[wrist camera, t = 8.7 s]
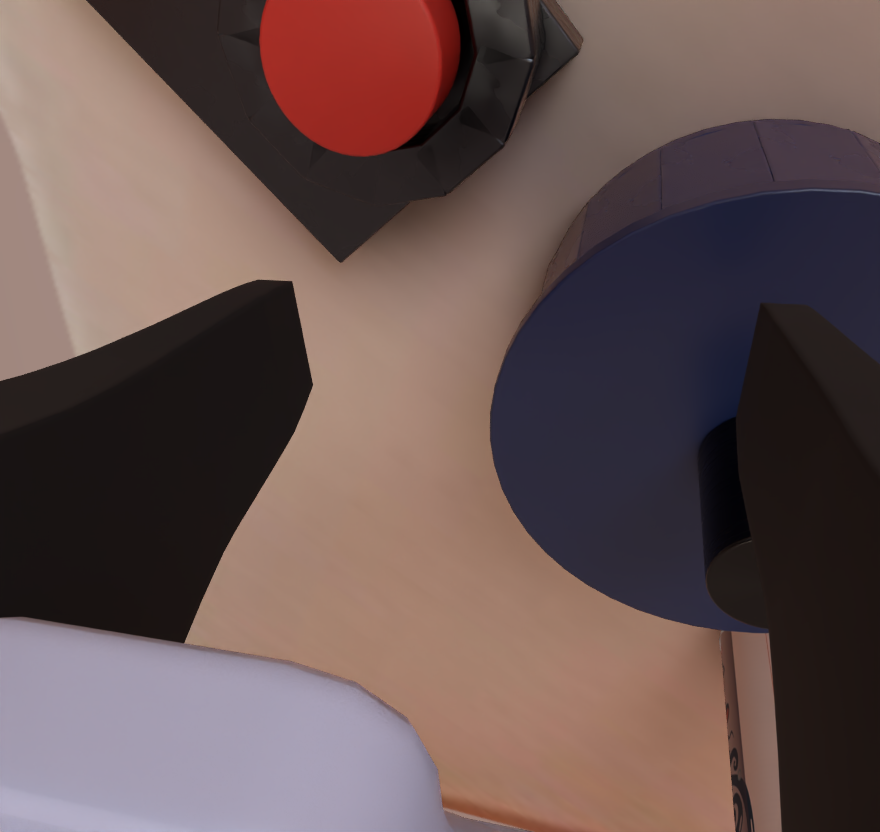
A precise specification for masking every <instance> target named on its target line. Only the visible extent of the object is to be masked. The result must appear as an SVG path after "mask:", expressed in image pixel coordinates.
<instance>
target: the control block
mask: <svg viewBox="0 0 880 832" xmlns="http://www.w3.org/2000/svg"><path fill="white" fill-rule="evenodd" d="M86 1H87V2H88V3H89V4H90V5H91V6H92V7H93V8H94V9H95V10H96V11H97V12H98V13H99V14H100V15H101V16H102V17H103V18H104V19H105V20H106V21H107V22H108V23H109V24H110V25H111V26H112V27H113V28H114V30H115V31H116V32H117V33H118V34H119V35H120V36H121V37H122V38H123V39H124V40H125V41H126V42H127V43H128V44H129V45H130V46H131V47H132V48H133V49H134V50H135V51H136V52H137V53H138V54H139V55H140V56H141V57H142V58H143V60H144V61H145V62H146V63H147V64H148V65H149V66H150V67H151V68H152V69H153V70H154V71H155V72H156V73H157V74H158V75H159V76H160V77H161V78H162V79H163V80H164V81H165V82H166V83H167V84H168V85H169V86H170V87H171V89H172V90H173V91H174V92H175V93H176V94H177V95H178V96H179V97H180V98H181V99H182V100H183V101H184V102H185V103H186V104H187V105H188V106H189V107H190V108H191V109H192V110H193V111H194V112H195V113H196V114H197V115H198V116H199V118H200V119H201V120H202V121H203V122H204V123H205V124H206V125H207V126H208V127H209V128H210V129H211V130H212V131H213V132H214V133H215V134H216V135H217V136H218V137H219V138H220V139H221V140H222V141H223V142H224V143H225V144H226V145H227V147H228V148H229V149H230V150H231V151H232V152H233V153H234V154H235V155H236V156H237V157H238V158H239V159H240V160H241V161H242V162H243V163H244V164H245V165H246V166H247V167H248V168H249V169H250V170H251V171H252V172H253V173H254V174H255V175H256V177H257V178H258V179H259V180H260V181H261V182H262V183H263V184H264V185H265V186H266V187H267V188H268V189H269V190H270V191H271V192H272V193H273V194H274V195H275V196H276V197H277V198H278V199H279V200H280V201H281V202H282V203H283V204H284V206H285V207H286V208H287V209H288V210H289V211H290V212H291V213H292V214H293V215H294V216H295V217H296V218H297V219H298V220H299V221H300V222H301V223H302V224H303V225H304V226H305V227H306V228H307V229H308V230H309V231H310V232H311V233H312V235H313V236H314V237H315V238H316V239H317V240H318V241H319V242H320V243H321V244H322V245H323V246H324V247H325V248H326V249H327V250H328V251H329V252H330V253H331V254H332V255H333V256H334V257H335V258H336V259H337V260H338V261H339V262H340V263H341V262H343V261H344V260H345V259H346V258H348V257H349V256H350V255H351V254H352V253H353V252H354V251H355V250H357V249H358V248H359V247H360V246H361V245H362V244H363V243H365V242H366V241H367V240H368V239H369V238H370V237H371V236H372V235H374V234H375V233H376V232H377V231H378V230H379V229H380V228H382V227H383V226H384V225H385V224H386V223H387V222H388V221H389V220H391V219H392V218H393V217H394V216H395V215H396V214H397V213H399V212H400V211H401V210H402V209H403V208H404V207H405V206H406V205H408V204H409V203H410V202H411V201H416V200H422V199H429V198H436V197H442V196H446V195H447V194H449V193H451V192H452V191H453V190H454V189H455V188H456V187H458V186H459V185H460V184H461V183H462V182H463V181H465V180H466V179H467V178H468V177H469V176H470V175H472V174H473V173H474V172H475V171H476V170H477V169H479V168H480V167H481V166H482V165H483V164H484V163H486V162H487V161H488V160H489V159H490V158H492V157H493V156H494V155H495V154H496V153H497V152H499V151H500V150H501V149H502V148H503V147H504V146H505V144H506V142H507V141H508V140H509V138H510V136H511V134H512V132H513V130H514V128H515V126H516V124H517V122H518V120H519V117H520V115H521V112H522V109H523V106H524V103H525V100H527V99H528V98H529V97H530V96H531V95H532V94H533V93H534V92H536V91H537V90H538V89H539V88H540V87H541V86H542V85H544V84H545V83H546V82H547V81H548V80H549V79H550V78H551V77H553V76H554V75H555V74H556V73H557V72H558V71H559V70H561V69H562V68H563V67H564V66H565V65H566V64H567V63H568V62H570V61H571V60H572V59H573V58H574V57H575V56H576V55H577V54H578V53H579V51H580V49H581V46H582V43H583V38H582V36H581V35H580V34H579V32H578V31H577V30H576V28H575V27H574V26H573V24H572V23H571V21H570V20H569V19H568V17H567V16H566V15H565V13H564V12H563V10H562V9H561V8H560V6H559V5H558V4H557V2H556V1H555V0H451V1H452V4H453V6H454V9H455V12H456V16H457V20H458V24H459V31H460V48H461V51H460V61H459V66H458V71H457V75H456V78H455V81H454V83H453V86H452V88H451V90H450V92H449V94H448V96H447V98H446V99H445V100H444V102H443V103H442V105H441V106H440V107H439V109H438V110H437V111H436V112H435V113H434V114H433V116H432V117H431V118H430V119H429V120H428V121H427V123H426V124H425V125H424V126H423V127H422V128H421V130H420V131H419V132H418V133H417V134H416V135H415V136H414V137H413V138H412V139H410V140H409V141H408V142H407V143H405V144H404V145H402V146H400V147H399V148H397V149H395V150H392V151H390V152H387V153H384V154H380V155H376V156H367V157H360V156H349V155H344V154H340V153H337V152H334V151H331V150H329V149H326V148H324V147H322V146H320V145H318V144H317V143H315V142H313V141H312V140H310V139H309V138H308V137H306V136H305V135H304V134H303V133H301V132H300V131H299V130H298V129H297V128H296V127H295V126H294V125H293V124H292V123H291V122H290V121H289V119H288V118H287V117H286V116H285V114H284V113H283V112H282V110H281V109H280V107H279V106H278V104H277V102H276V100H275V99H274V97H273V95H272V93H271V91H270V88H269V86H268V83H267V81H266V78H265V74H264V70H263V67H262V61H261V55H260V41H259V39H260V25H261V19H262V13H263V10H264V7H265V3H266V0H86Z"/></svg>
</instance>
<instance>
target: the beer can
mask: <svg viewBox="0 0 880 832" xmlns="http://www.w3.org/2000/svg"><path fill="white" fill-rule="evenodd" d="M719 644H720V651H721V654H722V667H723V679H724V692H725V704H726V717H727V729H728V742H729V755H730V767H731V780H732V792H733V805H734V817H735V830H736V832H782V828H781V808H780V787H779V767H778V749H777V734H776V719H775V704H774V689H773V677H772V665H771V653H770V641H769V633H746V632H733V631H723V630H721V633H720V637H719Z"/></svg>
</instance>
